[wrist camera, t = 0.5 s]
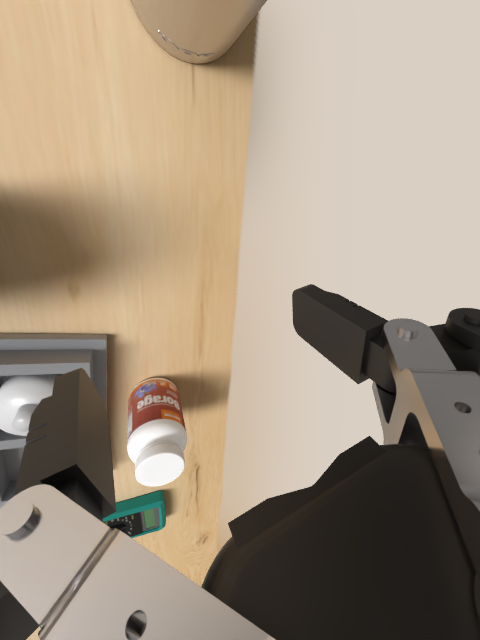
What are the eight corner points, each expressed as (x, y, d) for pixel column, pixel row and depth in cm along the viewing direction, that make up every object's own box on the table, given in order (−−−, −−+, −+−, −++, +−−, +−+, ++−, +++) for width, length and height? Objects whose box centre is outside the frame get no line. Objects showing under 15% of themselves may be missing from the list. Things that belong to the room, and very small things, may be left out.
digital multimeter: (58, 513, 40) (53, 535, 38) (163, 486, 45) (165, 504, 43) (68, 540, 44) (64, 562, 41) (165, 512, 48) (167, 530, 46)
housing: (-49, 332, 26) (-91, 369, 21) (107, 334, 30) (102, 364, 26) (-9, 489, 34) (-33, 540, 29) (107, 470, 39) (103, 512, 34)
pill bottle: (181, 375, 36) (198, 444, 27) (174, 411, 39) (187, 486, 29) (130, 375, 34) (130, 451, 24) (126, 414, 36) (124, 497, 27)
